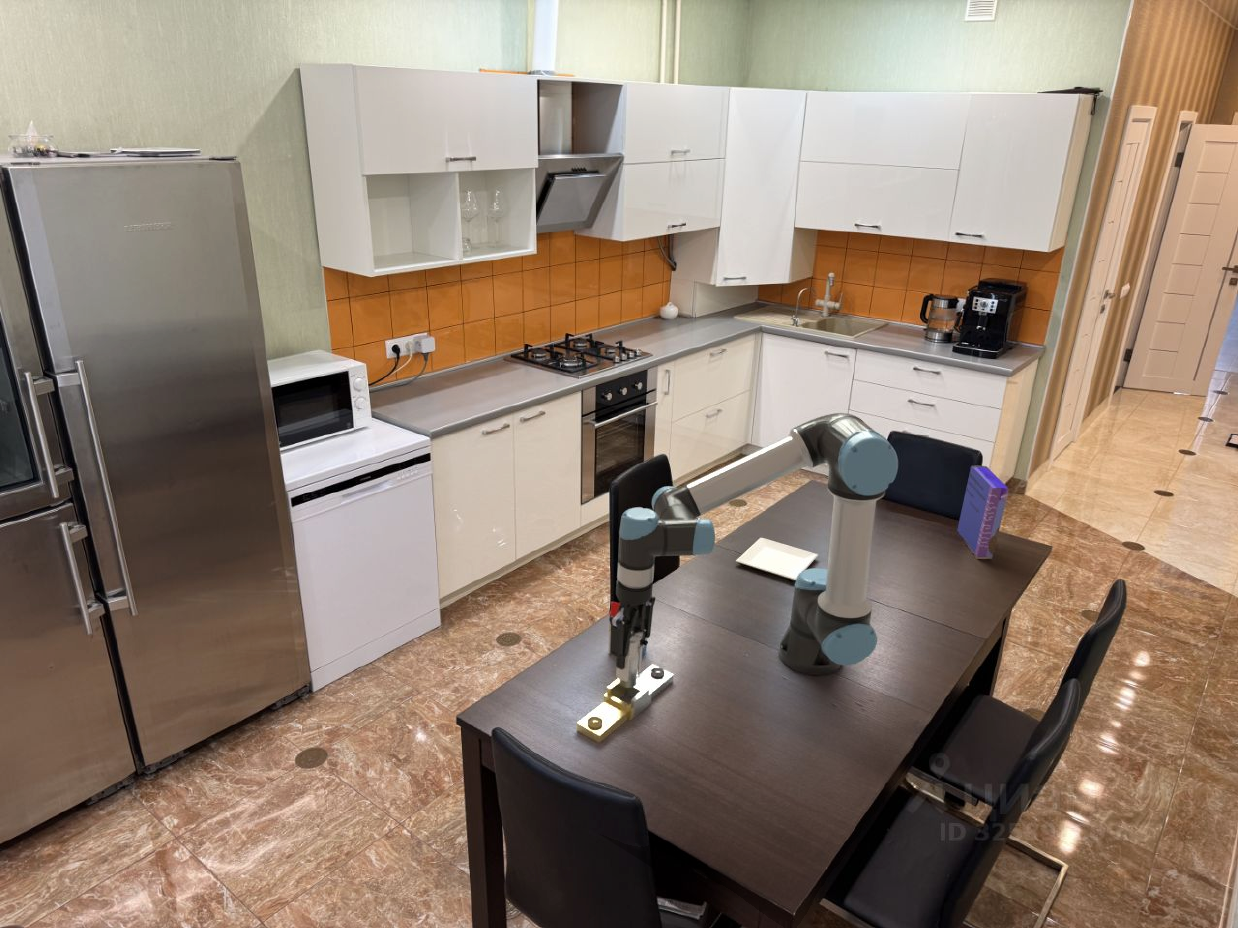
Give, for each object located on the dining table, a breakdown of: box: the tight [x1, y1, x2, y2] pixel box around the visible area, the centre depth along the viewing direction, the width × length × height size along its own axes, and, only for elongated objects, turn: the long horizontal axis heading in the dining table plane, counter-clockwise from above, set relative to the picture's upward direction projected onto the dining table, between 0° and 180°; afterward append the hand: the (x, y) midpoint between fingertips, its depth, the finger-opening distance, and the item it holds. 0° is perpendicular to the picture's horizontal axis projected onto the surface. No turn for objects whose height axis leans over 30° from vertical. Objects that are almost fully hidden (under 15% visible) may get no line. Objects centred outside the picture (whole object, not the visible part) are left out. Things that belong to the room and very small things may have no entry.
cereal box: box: [956, 464, 1010, 558], centre depth 267 cm, size 17×5×24 cm, turn 179°
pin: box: [619, 627, 643, 688], centre depth 187 cm, size 5×5×13 cm
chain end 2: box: [624, 663, 675, 719], centre depth 195 cm, size 8×16×4 cm, turn 143°
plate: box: [735, 537, 819, 582], centre depth 256 cm, size 19×19×2 cm
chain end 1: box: [576, 678, 635, 744], centre depth 187 cm, size 8×16×4 cm, turn 143°
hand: (628, 673), depth 188 cm, fingers closed on pin, 4 cm apart
